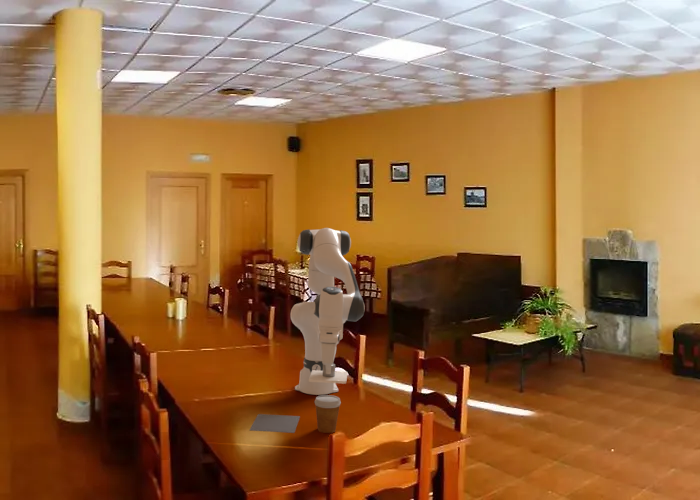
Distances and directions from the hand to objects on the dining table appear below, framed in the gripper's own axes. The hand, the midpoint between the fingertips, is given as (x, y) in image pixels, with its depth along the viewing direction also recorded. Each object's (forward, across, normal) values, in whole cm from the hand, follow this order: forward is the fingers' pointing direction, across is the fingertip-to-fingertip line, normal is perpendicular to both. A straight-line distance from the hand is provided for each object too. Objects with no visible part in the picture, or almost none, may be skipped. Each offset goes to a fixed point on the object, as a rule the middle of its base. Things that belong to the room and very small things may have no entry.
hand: (328, 371), depth 238 cm
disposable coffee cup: (+22, 0, 0) cm, 22 cm away
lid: (+2, 0, 0) cm, 2 cm away
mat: (+22, -4, -19) cm, 29 cm away
